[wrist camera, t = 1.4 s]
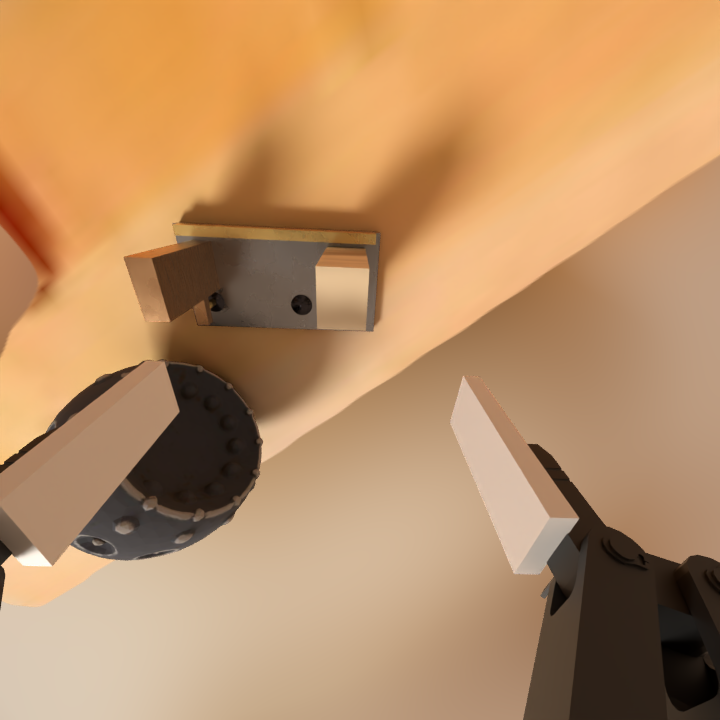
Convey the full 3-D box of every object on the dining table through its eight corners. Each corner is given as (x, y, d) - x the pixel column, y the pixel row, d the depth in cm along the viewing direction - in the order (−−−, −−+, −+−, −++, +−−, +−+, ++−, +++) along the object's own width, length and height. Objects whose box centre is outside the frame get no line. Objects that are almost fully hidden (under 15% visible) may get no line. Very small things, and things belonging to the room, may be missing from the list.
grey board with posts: (178, 222, 30) (94, 233, 20) (379, 232, 31) (391, 247, 21) (202, 321, 35) (143, 367, 26) (372, 327, 36) (379, 375, 26)
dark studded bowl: (174, 322, 35) (-2, 442, 18) (285, 423, 44) (239, 573, 26) (122, 367, 38) (-72, 507, 21) (236, 453, 46) (164, 606, 29)
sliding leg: (326, 246, 30) (315, 266, 21) (365, 248, 30) (369, 268, 21) (327, 319, 34) (318, 360, 25) (361, 320, 34) (363, 362, 25)
